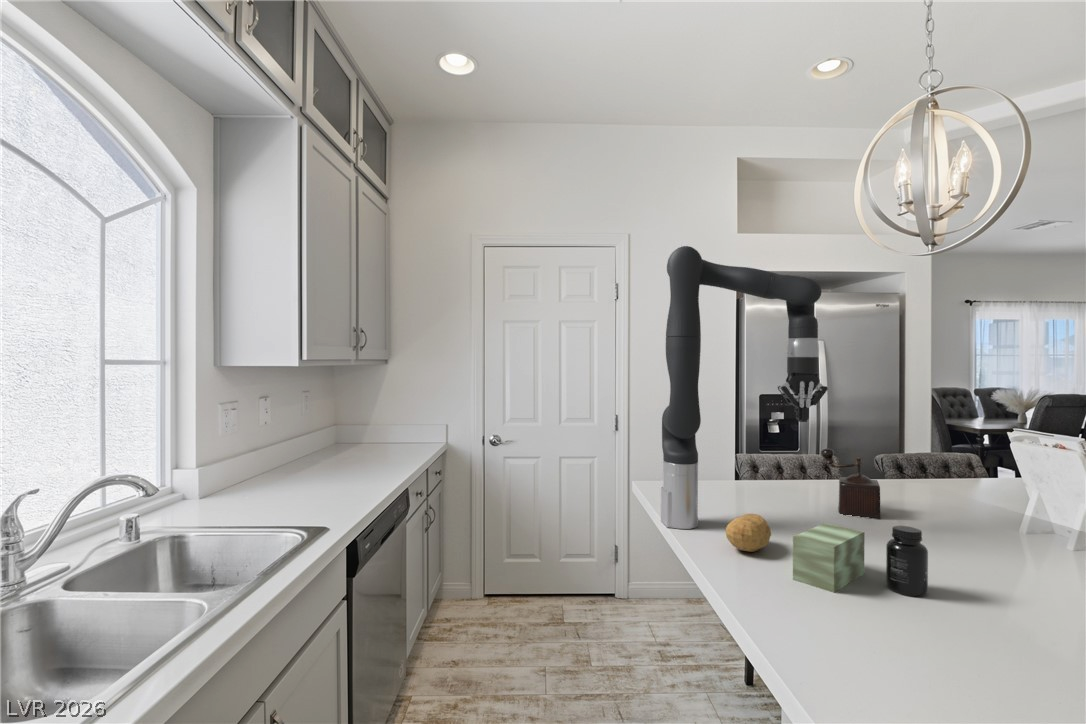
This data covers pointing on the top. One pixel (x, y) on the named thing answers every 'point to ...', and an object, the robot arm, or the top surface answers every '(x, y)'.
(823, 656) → the top surface
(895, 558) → the supplement bottle
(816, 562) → the sage-green block
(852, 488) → the wooden coffee grinder
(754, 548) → the potato
